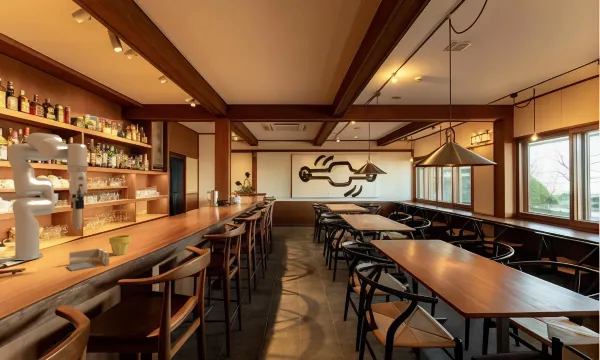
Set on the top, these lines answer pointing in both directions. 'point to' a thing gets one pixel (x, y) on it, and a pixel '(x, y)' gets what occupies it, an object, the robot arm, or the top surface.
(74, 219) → the handle
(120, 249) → the plant pot
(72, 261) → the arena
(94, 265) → the coaster
